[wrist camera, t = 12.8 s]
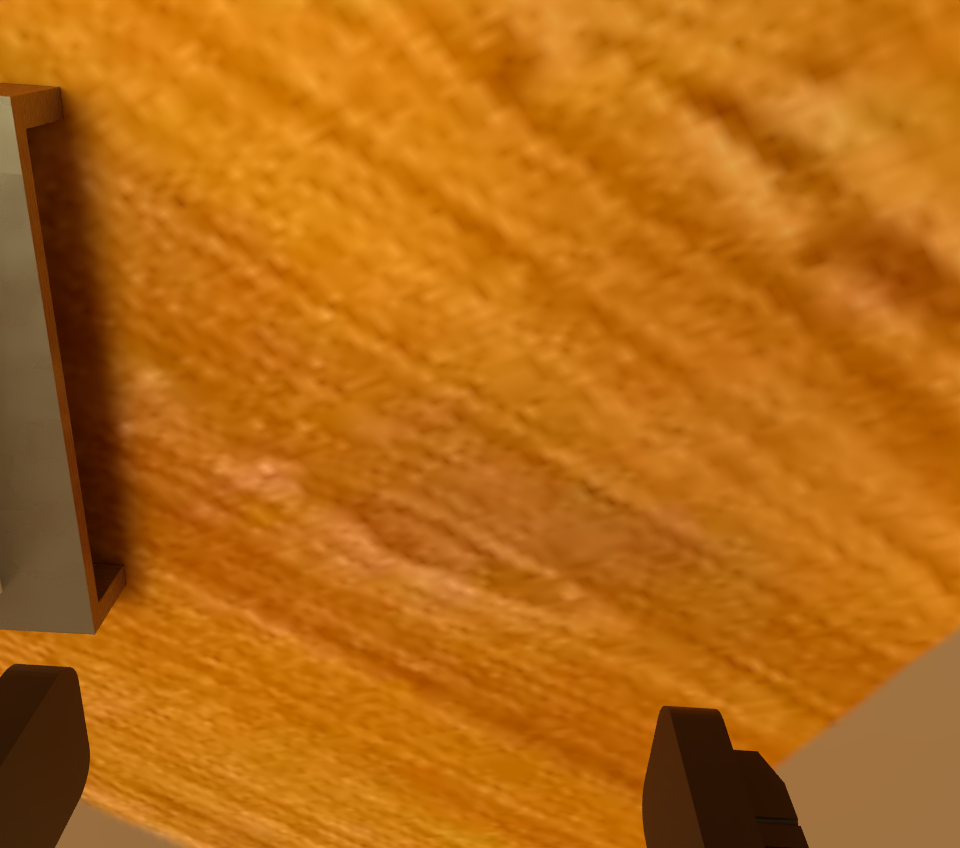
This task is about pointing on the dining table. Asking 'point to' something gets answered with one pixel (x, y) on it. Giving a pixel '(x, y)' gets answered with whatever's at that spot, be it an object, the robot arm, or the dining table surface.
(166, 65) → the dining table surface
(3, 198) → the slotted board
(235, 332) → the dining table surface
